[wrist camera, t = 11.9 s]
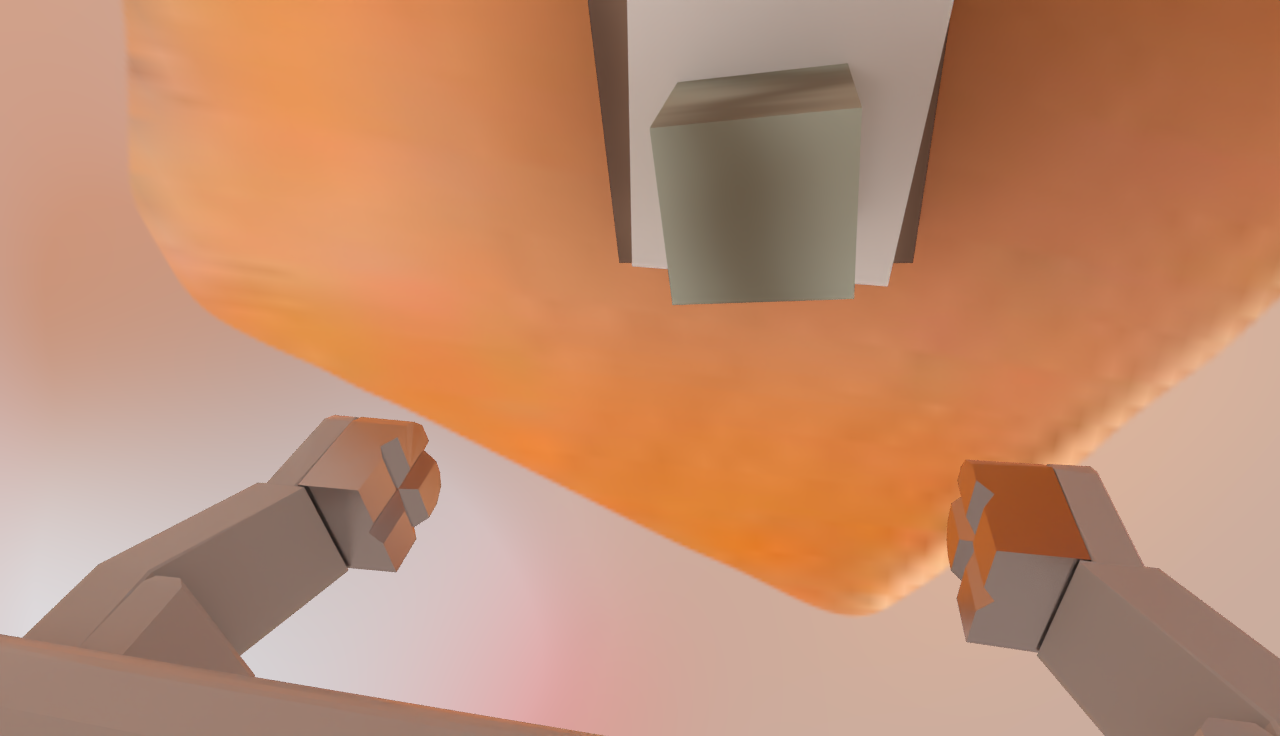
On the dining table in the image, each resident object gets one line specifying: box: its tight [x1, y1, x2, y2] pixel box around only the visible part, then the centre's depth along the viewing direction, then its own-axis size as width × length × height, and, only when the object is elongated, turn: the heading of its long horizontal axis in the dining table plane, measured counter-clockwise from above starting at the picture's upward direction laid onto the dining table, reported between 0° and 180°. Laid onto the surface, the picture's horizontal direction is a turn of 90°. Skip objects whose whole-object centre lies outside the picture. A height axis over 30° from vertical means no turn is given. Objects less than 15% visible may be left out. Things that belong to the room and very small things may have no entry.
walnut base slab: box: [588, 0, 950, 263], centre depth 26 cm, size 12×12×4 cm
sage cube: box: [650, 63, 862, 305], centre depth 19 cm, size 5×5×5 cm
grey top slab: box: [627, 0, 954, 286], centre depth 23 cm, size 9×9×4 cm
